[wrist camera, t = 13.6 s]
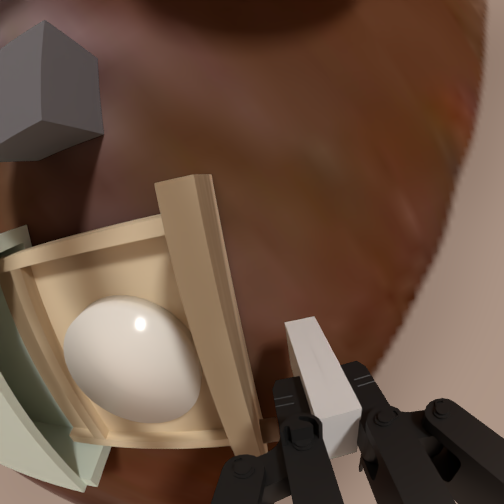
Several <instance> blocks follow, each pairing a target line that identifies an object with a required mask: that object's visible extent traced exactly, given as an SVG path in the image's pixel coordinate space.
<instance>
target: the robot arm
mask: <svg viewBox="0 0 504 504" xmlns="http://www.w3.org/2000/svg"><path fill="white" fill-rule="evenodd" d="M285 328H286V335H287V342H288V349H289V356H290V364H291V368H292V371H293V375H294V377H291V378H286V379H281V380H276V382H275V384H274V387H273V389H272V390H273V396H274V401H275V407H276V412H277V418H278V424H279V429H280V440H279V442H278V444H277V445H276V447H274V448H273V449H272V450H271V451H269V452H267V453H265V454H263V455H260V456H258V457H256V456H253V455H249V454H243V455H237V456H235V457H232V458H231V459H229V460H228V461H227V462H226V463H225V465H224V466H223V468H222V471H221V475H220V478H219V481H218V484H217V487H216V490H215V493H214V496H213V499H212V502H211V504H274V502H277V501H279V500H281V499H283V498H285V497H288V496H290V495H292V500H293V504H344V503H343V499H342V496H341V493H340V490H339V487H338V484H337V480H336V477H335V475H334V471H333V468H332V465H331V462H330V459H333V458H337V457H341V456H344V455H348V454H351V453H354V452H357V446H358V447H359V449H360V451H361V458H360V464H359V472H361V471H362V469H363V468H364V471H365V474H366V476H367V479H368V481H369V484H370V486H371V489H372V492H373V494H374V497H375V499H376V502H377V504H456V503H455V501H456V502H457V503H458V504H504V438H502V437H501V436H499V435H498V434H497V433H495V432H494V431H493V430H491V429H490V428H488V427H487V426H486V425H485V424H483V423H482V422H481V421H479V420H477V419H476V418H475V417H474V416H472V415H471V414H470V413H468V412H467V411H466V410H464V409H463V408H461V407H460V406H459V405H458V404H456V403H455V402H453V401H451V400H449V399H444V398H441V399H435V400H433V401H431V402H430V403H429V404H428V405H427V406H426V409H425V410H422V411H415V412H401V411H400V410H399V409H398V408H395V407H393V406H390V404H389V403H388V402H387V400H386V398H385V397H384V395H383V394H382V392H381V390H380V389H379V387H378V385H377V384H376V382H374V379H373V377H372V376H371V375H370V373H369V371H368V369H367V368H366V366H364V365H363V364H361V363H359V362H358V361H354V362H351V363H347V364H343V365H340V364H339V362H338V360H337V358H336V356H335V355H334V353H333V351H332V349H331V347H330V345H329V343H328V341H327V339H326V337H325V336H324V334H323V332H322V330H321V328H320V326H319V324H318V322H317V321H316V319H315V317H314V316H313V317H309V318H304V319H299V320H295V321H290V322H285ZM454 500H455V501H454Z"/></svg>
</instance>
